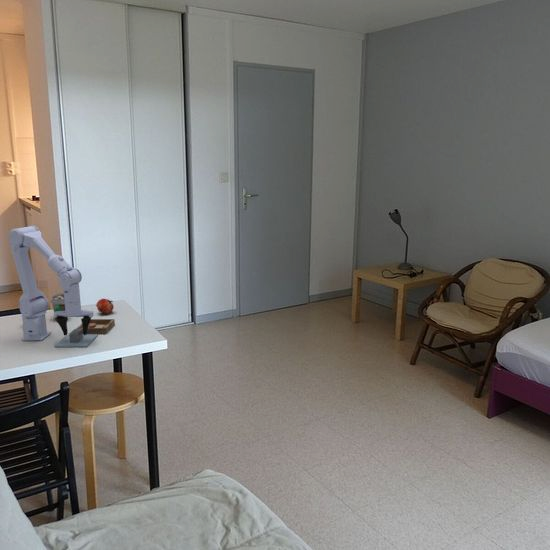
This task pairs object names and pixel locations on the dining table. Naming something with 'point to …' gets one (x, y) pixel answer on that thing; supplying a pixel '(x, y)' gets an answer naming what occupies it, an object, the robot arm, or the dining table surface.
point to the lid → (76, 339)
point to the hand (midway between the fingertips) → (75, 334)
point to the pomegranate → (105, 306)
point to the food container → (58, 303)
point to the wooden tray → (99, 326)
